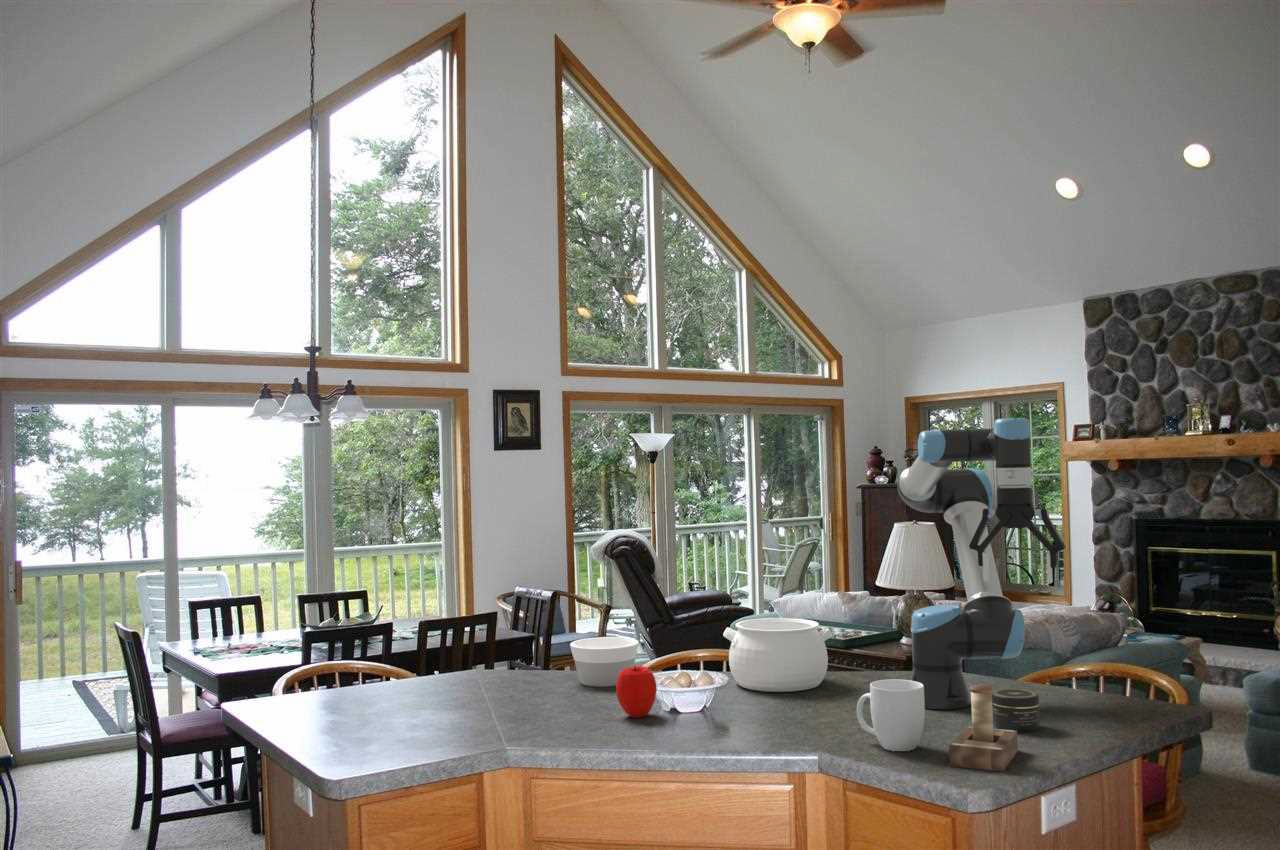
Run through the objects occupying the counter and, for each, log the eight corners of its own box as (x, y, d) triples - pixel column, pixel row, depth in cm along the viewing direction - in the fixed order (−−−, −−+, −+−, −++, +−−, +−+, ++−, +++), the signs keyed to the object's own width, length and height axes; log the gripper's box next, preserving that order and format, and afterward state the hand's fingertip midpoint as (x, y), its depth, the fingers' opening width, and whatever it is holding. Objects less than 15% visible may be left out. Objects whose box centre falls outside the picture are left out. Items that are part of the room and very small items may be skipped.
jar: (1050, 730, 232) (1048, 695, 232) (1010, 735, 229) (1009, 699, 229) (1021, 720, 242) (1020, 686, 242) (983, 724, 239) (981, 690, 239)
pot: (836, 675, 296) (834, 617, 297) (831, 696, 271) (829, 632, 271) (731, 673, 303) (729, 616, 304) (717, 693, 277) (715, 631, 278)
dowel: (971, 759, 212) (968, 688, 212) (975, 754, 215) (972, 684, 216) (992, 761, 210) (989, 690, 210) (996, 756, 213) (993, 686, 214)
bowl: (569, 676, 305) (568, 638, 306) (636, 673, 308) (635, 635, 308) (572, 690, 286) (571, 650, 287) (643, 686, 288) (642, 646, 289)
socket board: (949, 765, 208) (949, 744, 208) (967, 745, 222) (966, 725, 222) (1003, 771, 203) (1002, 749, 203) (1017, 750, 217) (1017, 730, 217)
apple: (632, 709, 262) (631, 659, 263) (666, 713, 257) (664, 662, 257) (608, 717, 254) (607, 666, 255) (642, 722, 248) (640, 670, 249)
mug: (845, 746, 223) (843, 684, 224) (870, 735, 232) (868, 675, 232) (911, 758, 214) (909, 692, 214) (935, 746, 222) (933, 682, 223)
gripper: (953, 487, 242) (957, 581, 241) (1071, 486, 230) (1075, 585, 229) (961, 486, 249) (964, 578, 248) (1075, 485, 237) (1079, 581, 236)
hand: (1017, 581), depth 239 cm, fingers open, 13 cm apart
